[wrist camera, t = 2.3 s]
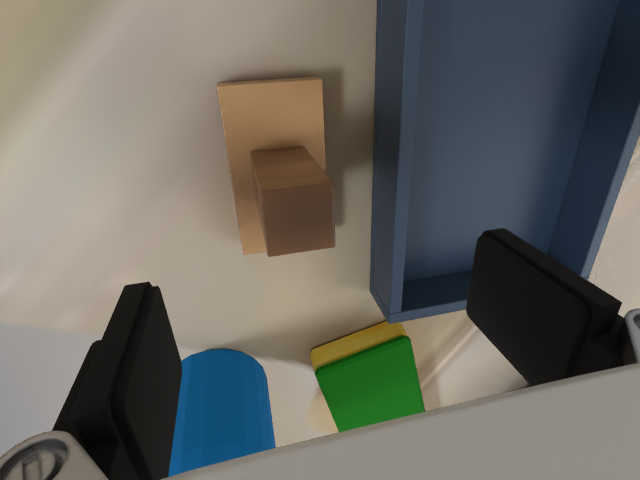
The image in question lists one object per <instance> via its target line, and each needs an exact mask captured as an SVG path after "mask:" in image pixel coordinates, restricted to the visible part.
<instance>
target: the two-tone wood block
mask: <svg viewBox="0 0 640 480" xmlns="http://www.w3.org/2000/svg"><path fill="white" fill-rule="evenodd" d="M217 93H218V99H219V105H220V111H221V117H222V124H223V130H224V136H225V142H226V148H227V155H228V161H229V167H230V173H231V179H232V186H233V192H234V198H235V204H236V210H237V216H238V223H239V229H240V235H241V241H242V247H243V254H244V255H246V254H253V253H259V252H266V251H267V255H268V256H269V257H272V256H278V255H285V254H291V253H298V252H305V251H311V250H318V249H325V248H331V247H335V216H334V184H333V182H332V181H331V180H330V178H329V177H328V176H327V175H326V162H325V135H324V108H323V80H322V79H321V78H318V77H316V76H313V77H298V78H283V79H268V80H254V81H239V82H224V83H217Z"/></svg>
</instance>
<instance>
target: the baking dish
mask: <svg viewBox="0 0 640 480" xmlns="http://www.w3.org/2000/svg"><path fill="white" fill-rule="evenodd" d="M639 135H640V0H377V27H376V68H375V108H374V148H373V188H372V228H371V268H370V293H371V294H372V296H373V298H374V299H375V301H376V303H377V305H378V306H379V308H380V310H381V311H382V313H383V315H384V316H385V318H386V320H387V321H388V323H389V324H392V323H398V322H403V321H408V320H413V319H418V318H423V317H429V316H434V315H439V314H444V313H449V312H454V311H459V310H465V309H466V304H467V298H468V292H469V286H470V280H471V274H472V267H473V261H474V255H475V249H476V243H477V239H478V237H480V236H481V235H482V233H483V232H484V231H486V230H492V229H499V228H505V229H507V230H509V231H510V232H512V233H513V234H515V235H516V236H518V237H520V238H521V239H523V240H524V241H526V242H527V243H529V244H531V245H532V246H534V247H535V248H537V249H538V250H540V251H542V252H543V253H545V254H546V255H548V256H550V257H551V258H553V259H554V260H556V261H557V262H559V263H561V264H562V265H564V266H565V267H567V268H568V269H570V270H572V271H573V272H575V273H576V274H578V275H579V276H581V277H583V278H584V279H586V280H587V281H588V278H589V277H588V276H589V275H590V272H591V270H592V267H593V264H594V261H595V258H596V256H597V253H598V250H599V247H600V244H601V241H602V239H603V236H604V233H605V230H606V227H607V225H608V222H609V219H610V216H611V213H612V211H613V208H614V205H615V202H616V199H617V197H618V194H619V191H620V188H621V185H622V183H623V180H624V177H625V174H626V171H627V168H628V166H629V163H630V160H631V157H632V154H633V152H634V149H635V146H636V143H637V140H638V138H639Z"/></svg>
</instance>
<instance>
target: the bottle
mask: <svg viewBox="0 0 640 480" xmlns="http://www.w3.org/2000/svg"><path fill="white" fill-rule="evenodd" d="M181 364H182V379H181V386H180V393H179V401H178V408H177V416H176V423H175V431H174V438H173V445H172V453H171V460H170V468H169V475H168V477H171V476H174V475H177V474H180V473H184V472H187V471H190V470H194V469H197V468H201V467H204V466H208V465H212V464H216V463H220V462H224V461H227V460H231V459H235V458H239V457H243V456H246V455H250V454H254V453H258V452H262V451H266V450H269V449H273V448H276V447H275V439H274V432H273V424H272V416H271V408H270V400H269V392H268V385H267V377H266V375H265V372H264V370H263V367H262V366H261V365H260V364H259V363H258V362H257V361H256V360H255V359H254V358H253V357H251V356H249V355H246V354H244V353H242V352H239V351H234V350H228V349H217V350H206V351H203V352H200V353H196V354H193V355H190V356H189V357H187V358H185V359H184V360H182V361H181Z"/></svg>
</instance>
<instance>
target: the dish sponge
mask: <svg viewBox="0 0 640 480" xmlns="http://www.w3.org/2000/svg"><path fill="white" fill-rule="evenodd" d="M310 357H311V361H312V364H313V368H314V371H315V375H316V378H317V380H318V383H319V385H320V388H321V390H322V392H323V395H324V397H325V400H326V402H327V404H328V407H329V409H330V411H331V414H332V416H333V419H334V421H335V423H336V426H337V428H338V431H339V432H343V431H347V430H351V429H355V428H359V427H363V426H367V425H372V424H376V423H380V422H384V421H388V420H392V419H396V418H401V417H405V416H409V415H413V414H417V413H422V412H425V409H424V404H423V399H422V394H421V389H420V384H419V379H418V375H417V370H416V365H415V360H414V355H413V350H412V345H411V340H410V338H409V337H408V336H407V334H406V332H405V330H404V329H403V327H402V326H401V324H400V322H398V323H392V324H389V323H388V321H386V322H383V323H380V324H378V325H375V326H373V327H370V328H367V329H365V330H362V331H359V332H357V333H354V334H351V335H349V336H346V337H344V338H341V339H338V340H336V341H333V342H330V343H328V344H325V345H322V346H320V347H317V348H315V349H312V351H311V353H310Z"/></svg>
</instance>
